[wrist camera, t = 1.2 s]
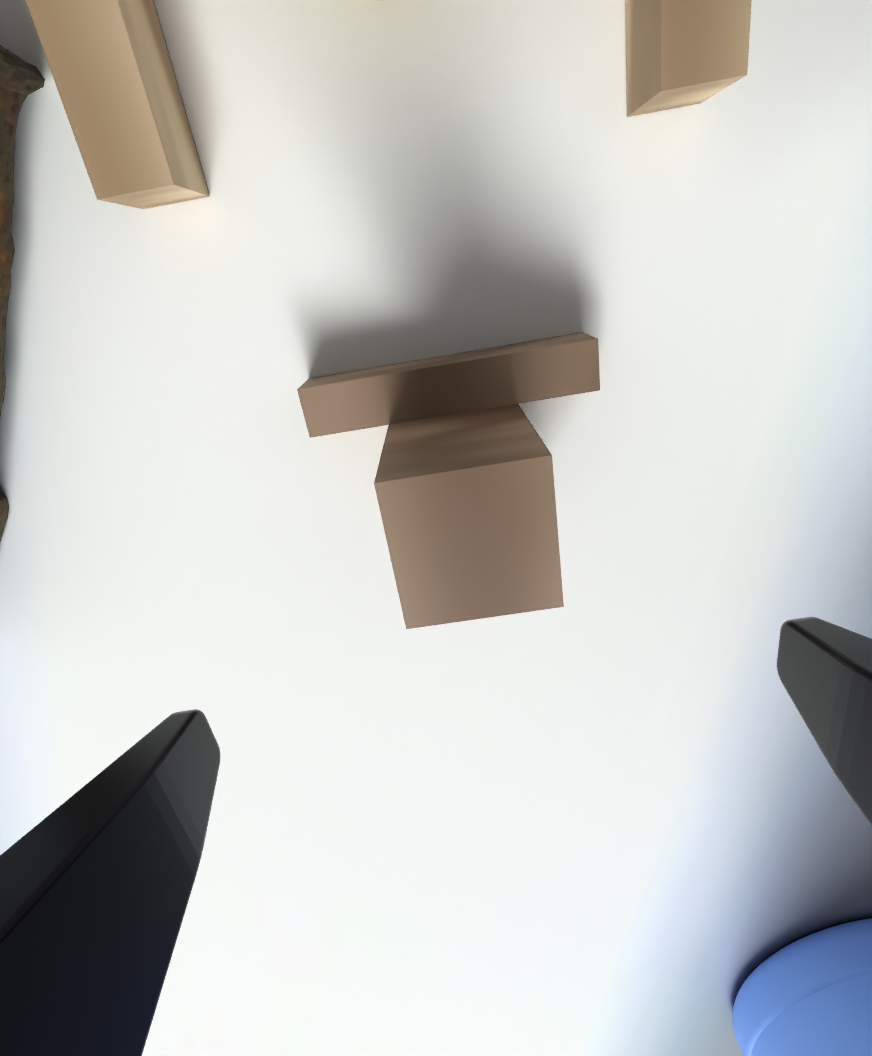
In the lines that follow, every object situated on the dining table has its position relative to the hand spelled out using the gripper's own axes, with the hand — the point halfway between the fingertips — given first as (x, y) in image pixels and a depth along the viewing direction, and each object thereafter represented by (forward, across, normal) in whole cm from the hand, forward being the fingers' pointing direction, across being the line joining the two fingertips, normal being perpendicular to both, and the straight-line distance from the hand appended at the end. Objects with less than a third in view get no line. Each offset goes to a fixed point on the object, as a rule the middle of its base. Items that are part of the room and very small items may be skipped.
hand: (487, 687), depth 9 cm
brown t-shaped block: (+12, 0, 0) cm, 12 cm away
